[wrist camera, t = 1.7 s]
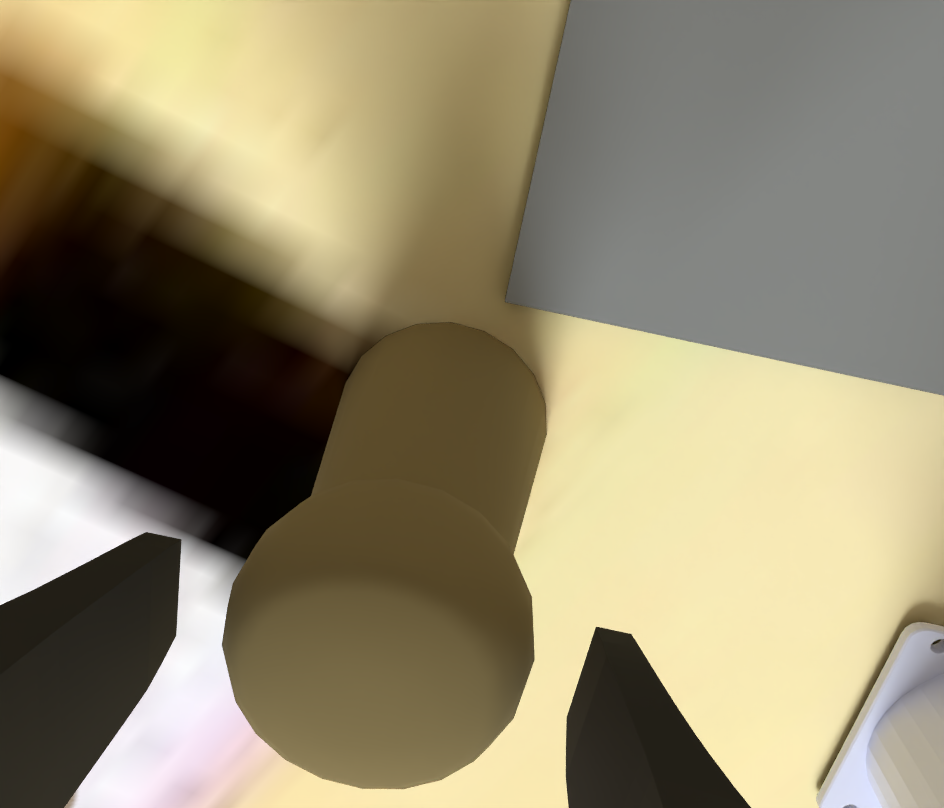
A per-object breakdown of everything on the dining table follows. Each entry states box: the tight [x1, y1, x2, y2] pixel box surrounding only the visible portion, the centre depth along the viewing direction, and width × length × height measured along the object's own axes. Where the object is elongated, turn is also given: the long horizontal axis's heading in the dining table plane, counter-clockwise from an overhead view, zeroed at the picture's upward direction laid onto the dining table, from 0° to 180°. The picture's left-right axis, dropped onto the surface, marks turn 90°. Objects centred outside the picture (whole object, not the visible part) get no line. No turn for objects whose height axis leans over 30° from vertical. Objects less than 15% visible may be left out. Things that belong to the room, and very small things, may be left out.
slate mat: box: [505, 0, 944, 395], centre depth 17 cm, size 12×12×1 cm
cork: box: [222, 322, 547, 789], centre depth 16 cm, size 6×6×11 cm
